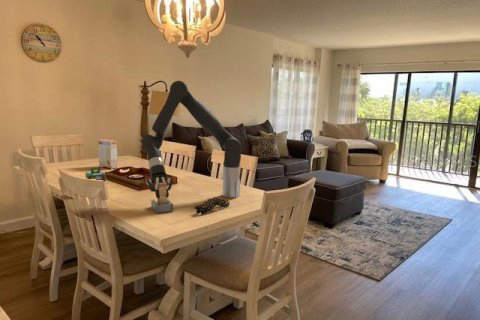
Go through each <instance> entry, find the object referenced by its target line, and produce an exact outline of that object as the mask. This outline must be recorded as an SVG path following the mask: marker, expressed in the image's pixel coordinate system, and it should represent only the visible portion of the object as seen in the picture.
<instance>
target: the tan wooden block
mask: <svg viewBox="0 0 480 320" xmlns="http://www.w3.org/2000/svg"><path fill="white" fill-rule="evenodd" d="M157 184H158V191H159V195H160V198H159V199H158V198H156V199H157V201H156V202H157V203H158V205H164V204H166V200H167V199H168V198H167V197H166V194H167V187H168V185H167V183H166V184H165V183H157Z"/></svg>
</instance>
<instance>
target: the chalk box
mask: <svg viewBox="0 0 480 320" xmlns="http://www.w3.org/2000/svg"><path fill="white" fill-rule="evenodd" d="M90 169H91V170H90V171H87V172H85V179H86V178H87V179H96V180H103V181H105V182H106V181H107V179H106V178H107V177H106V173H105V172H104V171H103V170H101V167H98V166H96V167H91V168H90Z"/></svg>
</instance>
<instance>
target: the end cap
mask: <svg viewBox="0 0 480 320" xmlns="http://www.w3.org/2000/svg"><path fill="white" fill-rule="evenodd" d="M150 207H151V209H152V210H153V211H154V212H155V214H164V213H173V212H174V204H173V203H172V202H171V201H170V200H169V199H168V198H167V200H166V204H164V205H158V203H157V201H156V200H155V199H151V201H150Z"/></svg>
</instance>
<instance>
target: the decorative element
mask: <svg viewBox="0 0 480 320" xmlns="http://www.w3.org/2000/svg"><path fill="white" fill-rule="evenodd" d="M230 203H231V202H230V201H228V200H225V199H221V198H217V197H216V196H214V197H213V198H209V199H207V201H205V202H203V203H202V204H200V205H195V206H194V209H195V210H196V213H197V214H201V215H202V216H203V215H205V214H206V213H208V212H211V210H213V209H214V208H216V206H218V207H223V208H225V207H229V206H230Z"/></svg>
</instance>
